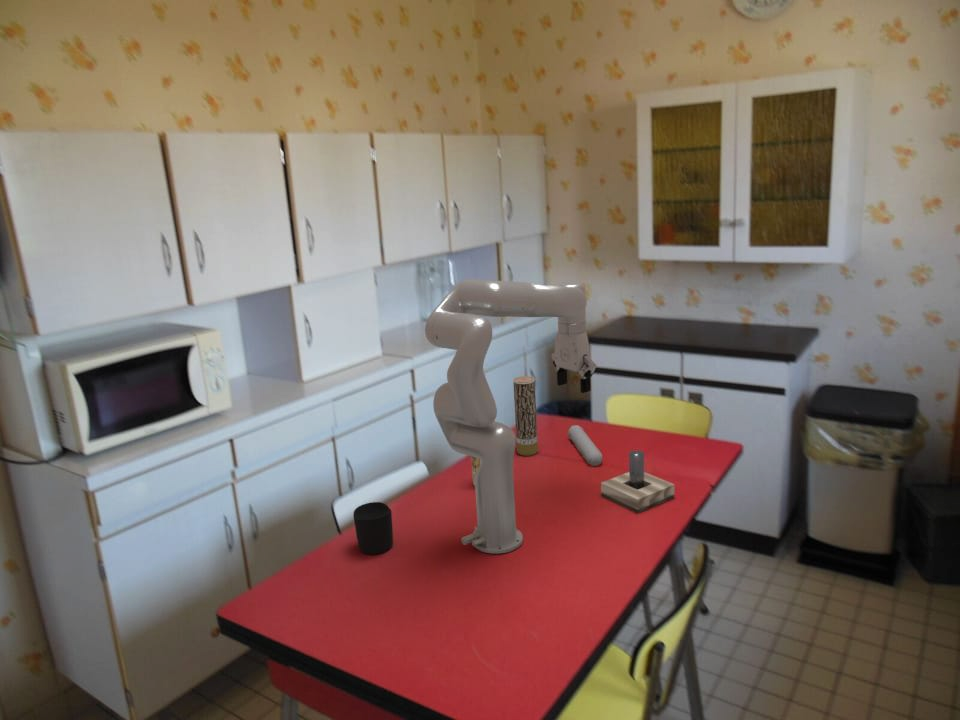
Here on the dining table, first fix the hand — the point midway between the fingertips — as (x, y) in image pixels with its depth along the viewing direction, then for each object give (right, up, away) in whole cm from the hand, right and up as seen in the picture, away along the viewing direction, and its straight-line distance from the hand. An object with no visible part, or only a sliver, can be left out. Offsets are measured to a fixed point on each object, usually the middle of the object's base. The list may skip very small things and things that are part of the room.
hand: (573, 388), depth 199 cm
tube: (+8, -22, +33) cm, 41 cm away
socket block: (+18, -30, 0) cm, 35 cm away
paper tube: (-10, -23, +36) cm, 44 cm away
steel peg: (+18, -29, 0) cm, 34 cm away
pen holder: (-52, -40, -17) cm, 68 cm away
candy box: (-23, -29, +15) cm, 40 cm away
